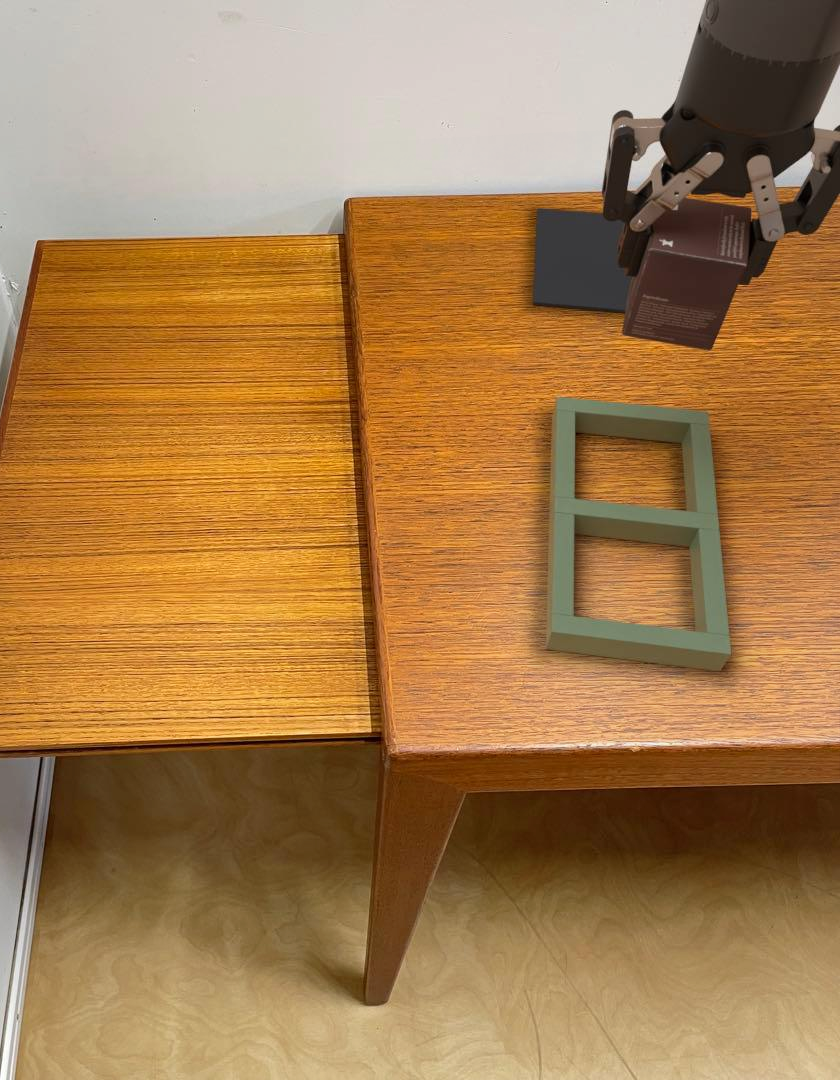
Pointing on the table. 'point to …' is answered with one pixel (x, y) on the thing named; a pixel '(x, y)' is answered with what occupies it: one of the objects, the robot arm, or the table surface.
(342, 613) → the table surface
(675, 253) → the box
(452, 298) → the table surface
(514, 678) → the table surface
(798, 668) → the table surface
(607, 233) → the mat
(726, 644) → the rack
